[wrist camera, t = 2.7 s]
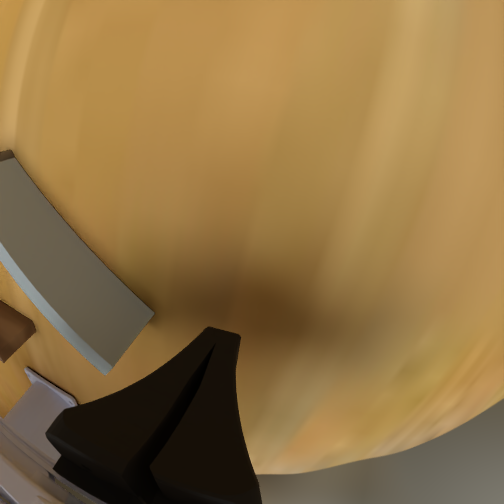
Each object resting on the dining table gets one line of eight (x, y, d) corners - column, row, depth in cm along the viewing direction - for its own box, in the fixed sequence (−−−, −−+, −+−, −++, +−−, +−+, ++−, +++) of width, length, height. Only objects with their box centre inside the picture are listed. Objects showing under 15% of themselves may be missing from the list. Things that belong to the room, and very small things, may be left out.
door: (155, 312, 14) (104, 379, 10) (144, 324, 15) (95, 387, 11) (7, 145, 12) (-55, 165, 8) (2, 162, 13) (-57, 185, 9)
